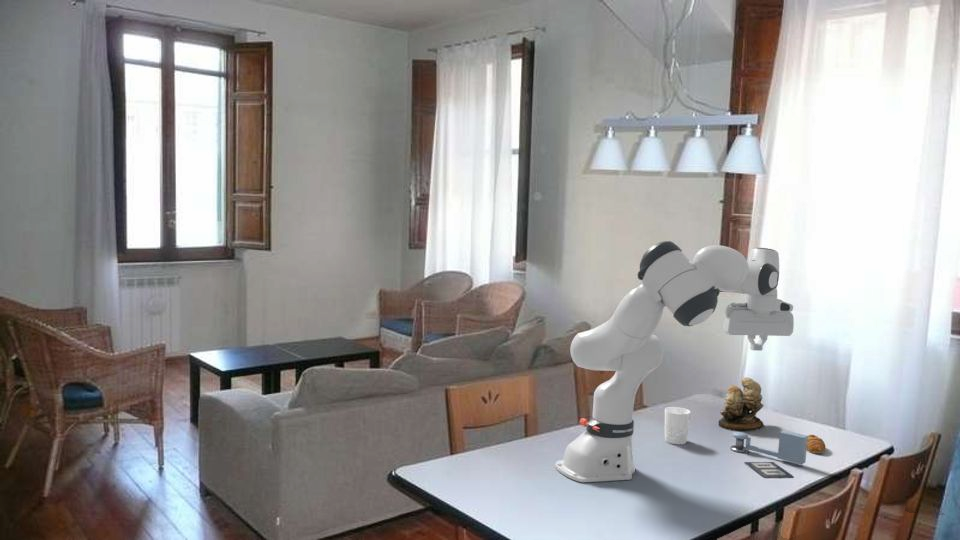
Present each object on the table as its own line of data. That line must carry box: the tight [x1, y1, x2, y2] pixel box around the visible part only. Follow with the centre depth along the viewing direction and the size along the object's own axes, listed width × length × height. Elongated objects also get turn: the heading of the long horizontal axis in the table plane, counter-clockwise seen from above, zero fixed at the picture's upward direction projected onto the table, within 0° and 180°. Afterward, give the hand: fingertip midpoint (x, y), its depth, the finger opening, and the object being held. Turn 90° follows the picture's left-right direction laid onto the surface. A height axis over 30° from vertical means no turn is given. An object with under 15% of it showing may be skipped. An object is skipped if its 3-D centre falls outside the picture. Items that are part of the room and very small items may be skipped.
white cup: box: [663, 406, 691, 445], centre depth 233 cm, size 8×8×10 cm
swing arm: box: [732, 429, 808, 466], centre depth 222 cm, size 21×4×8 cm, turn 50°
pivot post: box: [730, 438, 749, 454], centre depth 227 cm, size 5×5×4 cm
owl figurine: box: [718, 376, 764, 432], centre depth 252 cm, size 18×12×17 cm, turn 120°
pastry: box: [806, 434, 826, 455], centre depth 231 cm, size 9×7×4 cm
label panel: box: [743, 461, 794, 479], centre depth 211 cm, size 9×11×1 cm
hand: (756, 350), depth 216 cm, fingers closed
